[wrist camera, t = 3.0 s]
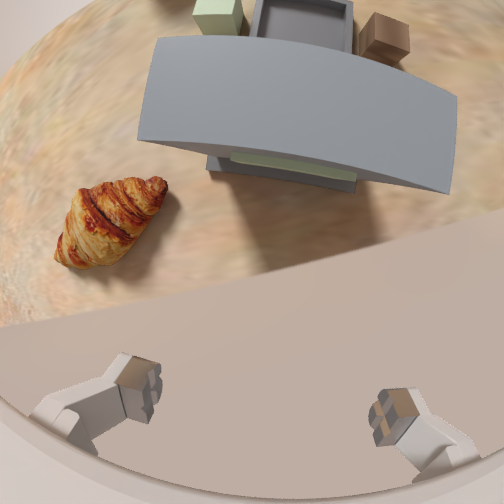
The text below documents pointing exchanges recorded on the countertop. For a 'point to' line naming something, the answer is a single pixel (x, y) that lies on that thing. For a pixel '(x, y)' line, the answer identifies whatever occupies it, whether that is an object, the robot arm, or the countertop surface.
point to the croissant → (108, 221)
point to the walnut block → (384, 40)
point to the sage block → (219, 17)
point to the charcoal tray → (305, 22)
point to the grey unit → (298, 113)
